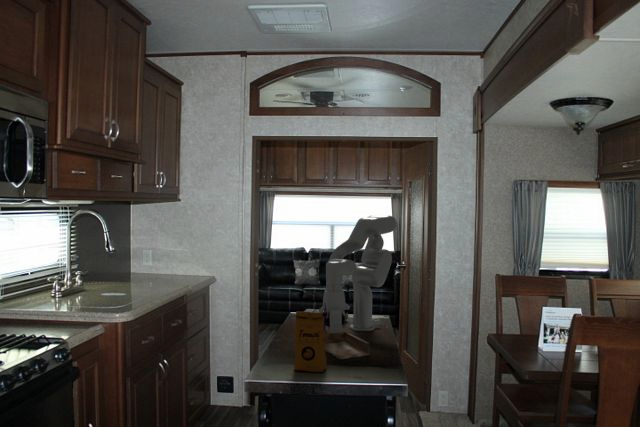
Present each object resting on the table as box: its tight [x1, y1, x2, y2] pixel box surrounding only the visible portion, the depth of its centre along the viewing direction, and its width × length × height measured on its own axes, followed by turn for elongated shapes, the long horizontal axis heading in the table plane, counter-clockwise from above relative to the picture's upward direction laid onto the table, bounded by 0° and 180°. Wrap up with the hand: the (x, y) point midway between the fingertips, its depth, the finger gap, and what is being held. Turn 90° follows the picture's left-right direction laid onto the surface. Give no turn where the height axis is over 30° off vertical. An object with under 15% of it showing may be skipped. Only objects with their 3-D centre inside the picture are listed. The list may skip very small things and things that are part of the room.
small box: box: [327, 309, 343, 334], centre depth 225 cm, size 8×6×10 cm
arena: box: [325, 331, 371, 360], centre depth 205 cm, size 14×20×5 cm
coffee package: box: [293, 311, 328, 373], centre depth 181 cm, size 10×12×22 cm
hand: (334, 324), depth 225 cm, fingers closed on small box, 7 cm apart
